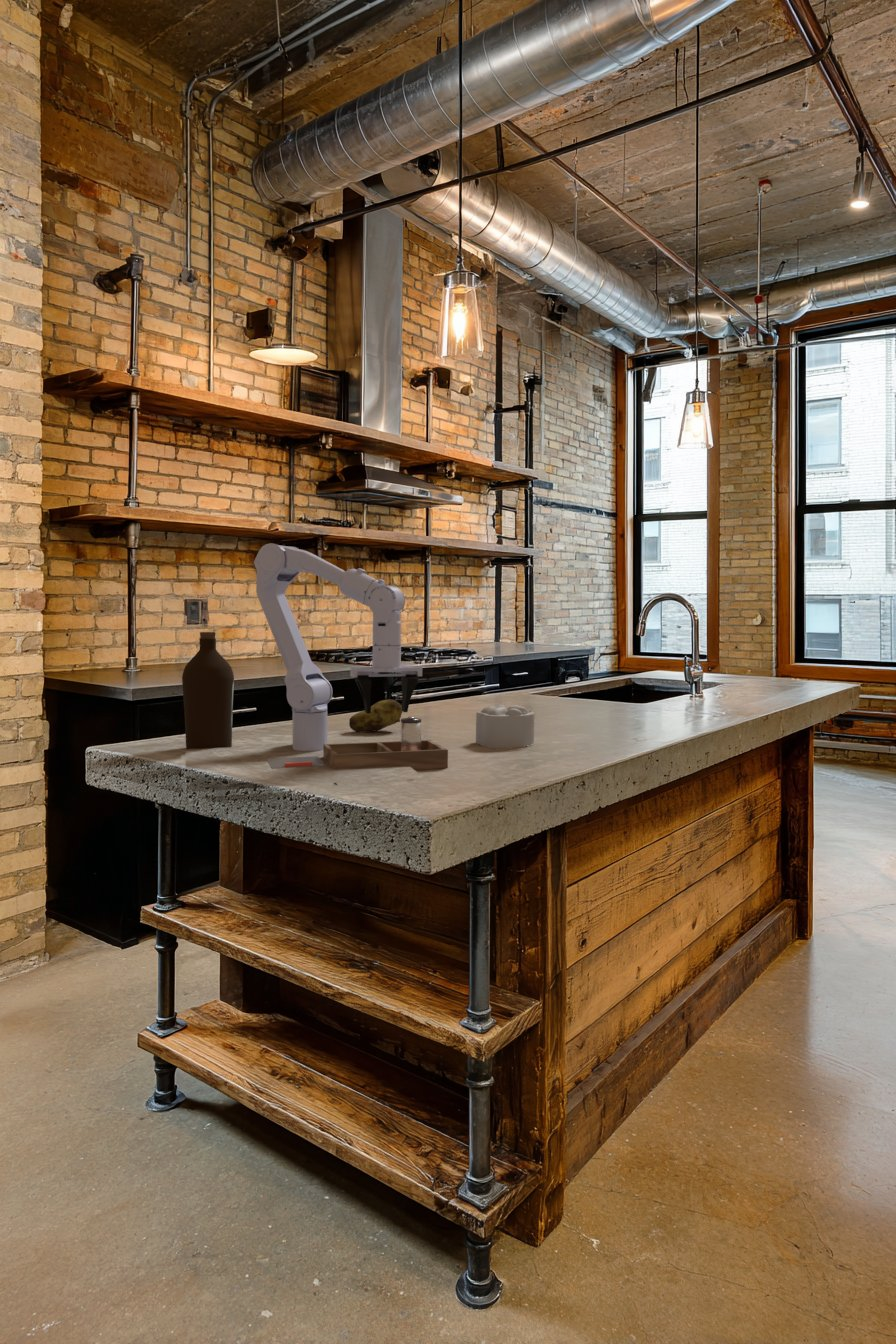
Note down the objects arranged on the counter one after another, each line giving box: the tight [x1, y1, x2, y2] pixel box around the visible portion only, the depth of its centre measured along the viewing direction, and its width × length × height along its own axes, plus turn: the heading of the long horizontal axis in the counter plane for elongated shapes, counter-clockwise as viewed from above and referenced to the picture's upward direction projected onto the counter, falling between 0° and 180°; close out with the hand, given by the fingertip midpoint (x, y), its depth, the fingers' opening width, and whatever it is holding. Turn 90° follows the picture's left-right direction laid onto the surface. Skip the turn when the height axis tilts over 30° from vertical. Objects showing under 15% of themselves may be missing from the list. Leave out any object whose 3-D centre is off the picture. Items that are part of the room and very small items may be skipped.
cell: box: [400, 716, 422, 751], centre depth 164 cm, size 4×4×8 cm
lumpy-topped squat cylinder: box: [475, 704, 535, 749], centre depth 189 cm, size 10×13×9 cm
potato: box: [348, 698, 403, 733], centre depth 205 cm, size 8×13×8 cm, turn 90°
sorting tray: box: [322, 739, 449, 770], centre depth 163 cm, size 12×22×4 cm, turn 108°
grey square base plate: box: [266, 755, 327, 769], centre depth 160 cm, size 10×10×2 cm
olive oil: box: [181, 631, 235, 750], centre depth 178 cm, size 11×11×25 cm
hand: (386, 712), depth 169 cm, fingers open, 7 cm apart
